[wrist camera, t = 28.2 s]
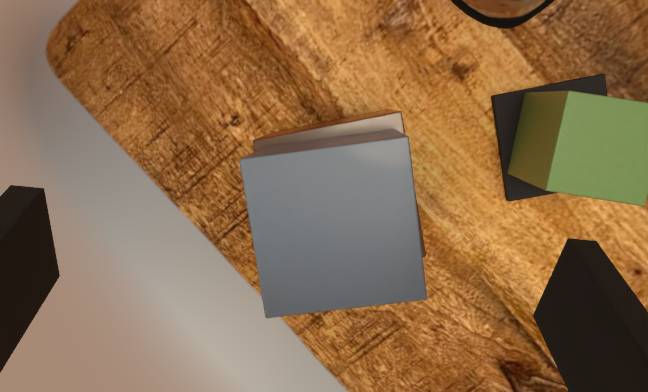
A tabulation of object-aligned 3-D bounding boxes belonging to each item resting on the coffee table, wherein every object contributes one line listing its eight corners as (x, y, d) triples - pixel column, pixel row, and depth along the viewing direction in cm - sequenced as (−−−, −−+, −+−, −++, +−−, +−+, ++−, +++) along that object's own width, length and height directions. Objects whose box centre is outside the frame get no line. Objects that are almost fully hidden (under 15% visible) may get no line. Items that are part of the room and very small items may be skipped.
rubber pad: (491, 95, 40) (493, 95, 39) (601, 74, 39) (605, 73, 39) (506, 200, 41) (508, 201, 41) (613, 180, 41) (617, 181, 40)
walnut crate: (272, 132, 41) (252, 140, 32) (389, 109, 40) (401, 110, 31) (296, 244, 42) (283, 282, 34) (409, 224, 42) (426, 257, 33)
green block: (586, 186, 40) (645, 206, 32) (506, 173, 40) (545, 190, 32) (606, 105, 39) (671, 106, 31) (524, 92, 39) (568, 90, 31)
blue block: (262, 147, 32) (238, 159, 25) (395, 128, 32) (408, 136, 25) (282, 274, 34) (265, 318, 27) (410, 258, 33) (427, 300, 26)
